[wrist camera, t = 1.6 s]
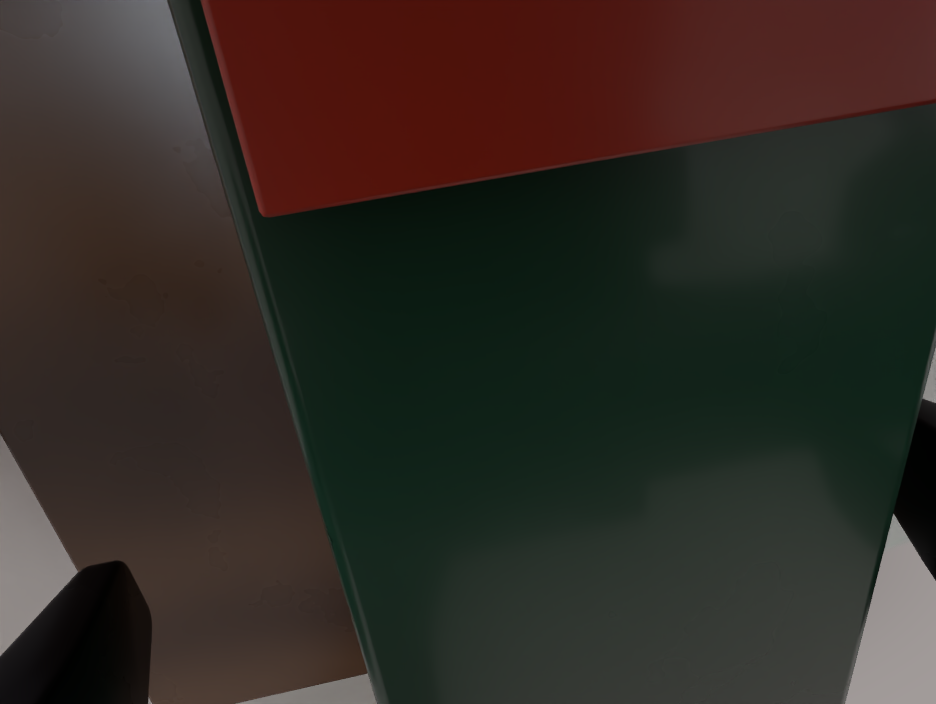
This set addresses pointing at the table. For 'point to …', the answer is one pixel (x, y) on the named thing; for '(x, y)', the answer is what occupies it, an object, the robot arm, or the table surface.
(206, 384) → the brown wooden square board
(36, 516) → the table surface
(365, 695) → the table surface
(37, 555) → the table surface
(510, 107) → the book
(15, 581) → the table surface
